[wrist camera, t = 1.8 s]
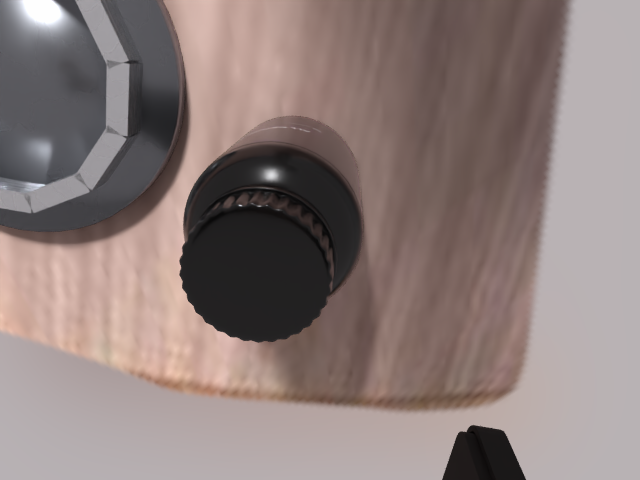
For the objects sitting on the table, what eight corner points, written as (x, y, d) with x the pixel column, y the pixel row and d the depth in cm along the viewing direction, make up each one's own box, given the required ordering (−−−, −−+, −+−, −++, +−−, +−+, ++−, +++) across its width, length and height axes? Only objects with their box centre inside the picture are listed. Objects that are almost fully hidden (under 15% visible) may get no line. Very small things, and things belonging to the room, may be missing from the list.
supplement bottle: (297, 83, 24) (261, 113, 13) (385, 185, 26) (418, 287, 15) (202, 174, 26) (100, 267, 15) (290, 263, 28) (257, 406, 17)
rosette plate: (-165, -150, 22) (-235, -177, 19) (197, -81, 22) (178, -99, 19) (-112, 197, 27) (-159, 213, 25) (175, 246, 28) (157, 267, 25)
